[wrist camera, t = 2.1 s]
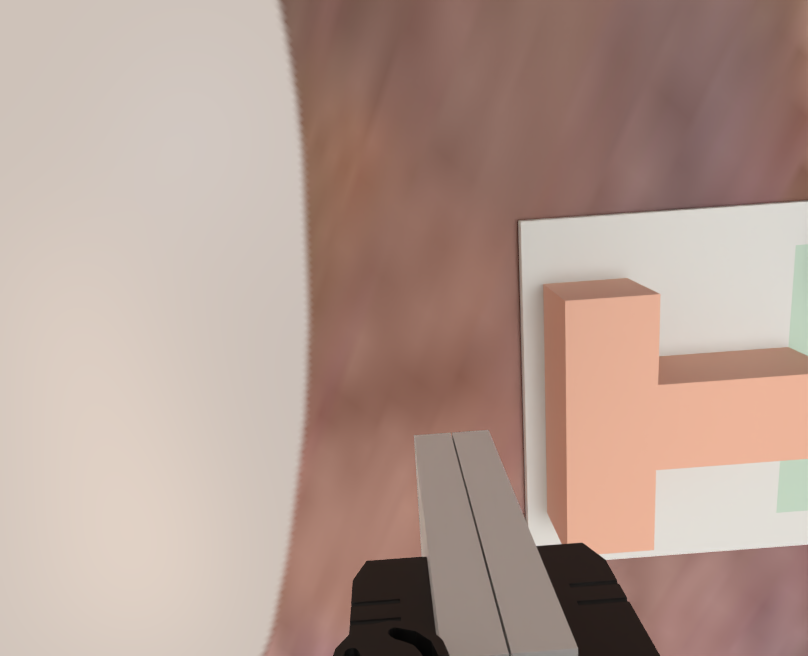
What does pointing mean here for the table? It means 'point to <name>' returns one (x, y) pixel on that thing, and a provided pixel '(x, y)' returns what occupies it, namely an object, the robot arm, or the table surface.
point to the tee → (649, 410)
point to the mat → (682, 350)
